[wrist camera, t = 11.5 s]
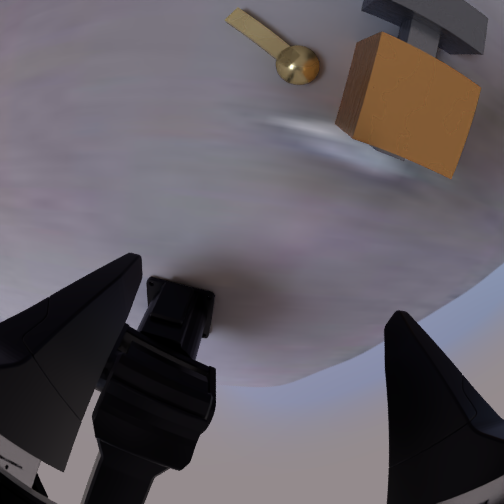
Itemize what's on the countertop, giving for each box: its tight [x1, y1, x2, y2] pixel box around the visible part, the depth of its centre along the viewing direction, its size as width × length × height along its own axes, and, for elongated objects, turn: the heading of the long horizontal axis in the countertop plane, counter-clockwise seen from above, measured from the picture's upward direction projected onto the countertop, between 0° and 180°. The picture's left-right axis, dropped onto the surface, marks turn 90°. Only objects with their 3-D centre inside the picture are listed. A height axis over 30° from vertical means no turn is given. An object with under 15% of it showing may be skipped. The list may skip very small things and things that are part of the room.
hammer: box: [361, 0, 488, 161], centre depth 12 cm, size 12×7×4 cm, turn 169°
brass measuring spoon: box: [225, 8, 320, 85], centre depth 14 cm, size 7×3×1 cm, turn 49°
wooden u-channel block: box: [335, 32, 481, 179], centre depth 13 cm, size 6×6×5 cm
